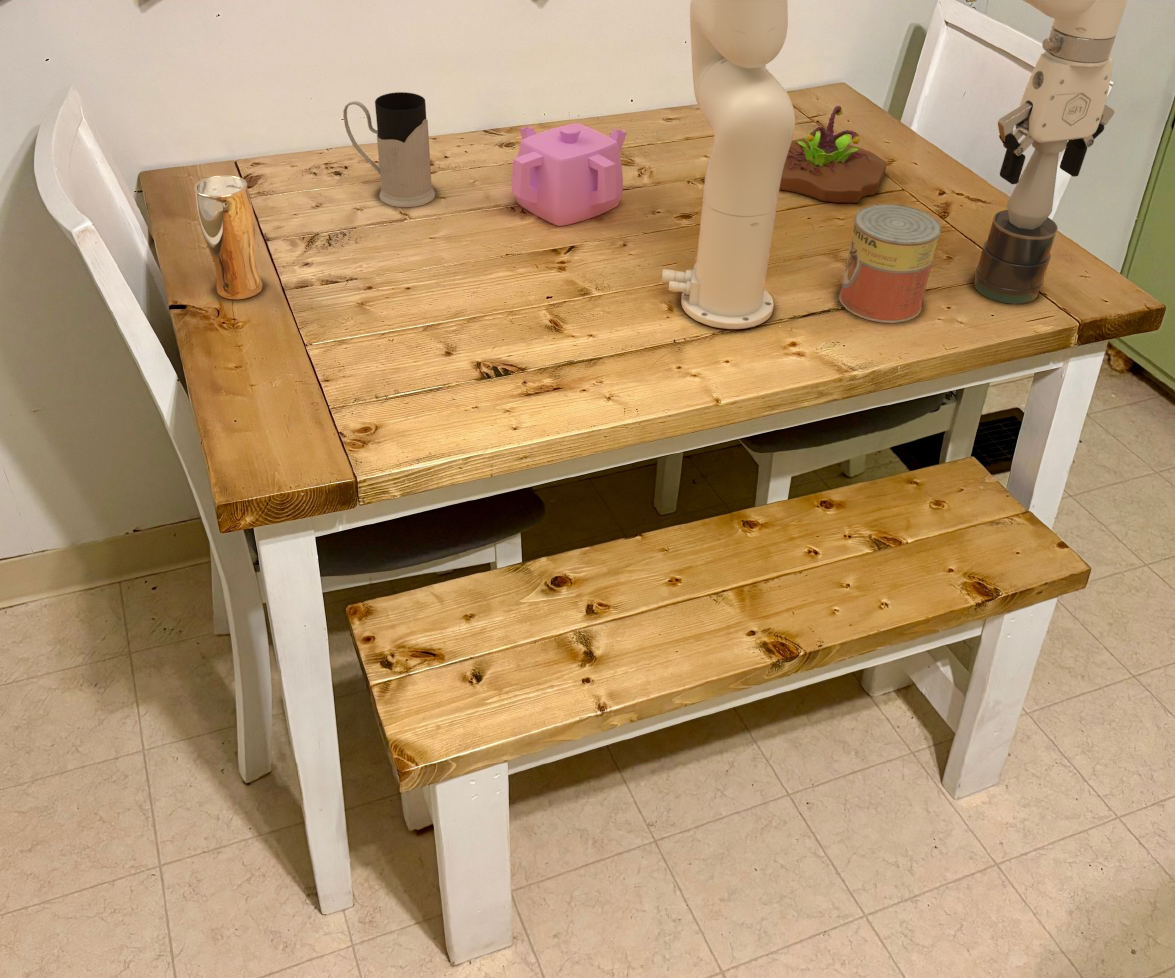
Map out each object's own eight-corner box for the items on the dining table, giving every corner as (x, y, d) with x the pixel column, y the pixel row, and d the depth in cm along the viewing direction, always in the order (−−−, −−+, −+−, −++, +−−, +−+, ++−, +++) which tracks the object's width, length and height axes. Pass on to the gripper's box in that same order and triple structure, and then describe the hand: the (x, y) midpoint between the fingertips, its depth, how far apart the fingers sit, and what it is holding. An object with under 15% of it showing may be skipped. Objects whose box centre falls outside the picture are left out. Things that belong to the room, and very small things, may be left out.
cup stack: (975, 301, 158) (994, 234, 151) (968, 269, 165) (986, 204, 158) (1044, 308, 157) (1066, 242, 150) (1034, 276, 164) (1055, 211, 157)
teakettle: (509, 225, 171) (508, 147, 163) (520, 178, 184) (519, 103, 176) (621, 231, 171) (625, 153, 163) (623, 183, 184) (628, 109, 176)
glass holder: (420, 211, 174) (413, 115, 164) (338, 195, 177) (327, 101, 167) (444, 188, 180) (439, 95, 171) (364, 174, 183) (355, 82, 174)
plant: (900, 170, 191) (915, 105, 184) (857, 212, 178) (870, 144, 171) (793, 142, 199) (803, 79, 192) (744, 180, 186) (752, 113, 179)
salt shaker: (1048, 234, 152) (1078, 141, 143) (1004, 229, 152) (1032, 136, 144) (1044, 216, 156) (1072, 124, 148) (1001, 211, 157) (1027, 120, 149)
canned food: (834, 280, 161) (849, 202, 153) (912, 283, 161) (931, 205, 153) (845, 321, 152) (861, 240, 145) (928, 324, 152) (949, 244, 145)
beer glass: (239, 306, 150) (219, 202, 140) (202, 291, 153) (180, 187, 143) (276, 285, 155) (260, 182, 145) (240, 271, 157) (221, 169, 148)
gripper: (1040, 60, 134) (1001, 195, 145) (1156, 50, 139) (1109, 181, 150) (1002, 40, 139) (967, 171, 150) (1115, 30, 144) (1073, 158, 155)
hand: (1038, 176), depth 150 cm, fingers open, 9 cm apart
